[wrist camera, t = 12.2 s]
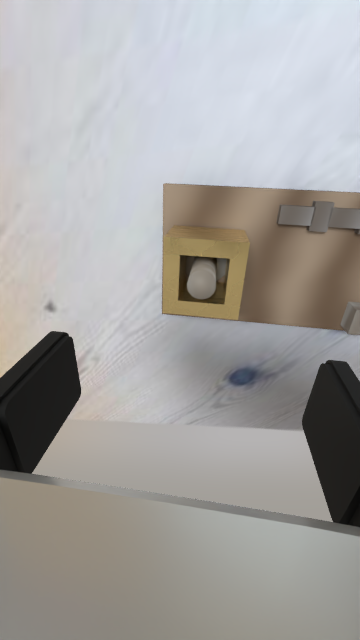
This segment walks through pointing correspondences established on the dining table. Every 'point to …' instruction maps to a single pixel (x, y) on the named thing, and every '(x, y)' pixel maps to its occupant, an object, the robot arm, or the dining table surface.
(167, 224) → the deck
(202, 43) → the dining table surface
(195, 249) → the end link
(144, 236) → the dining table surface
